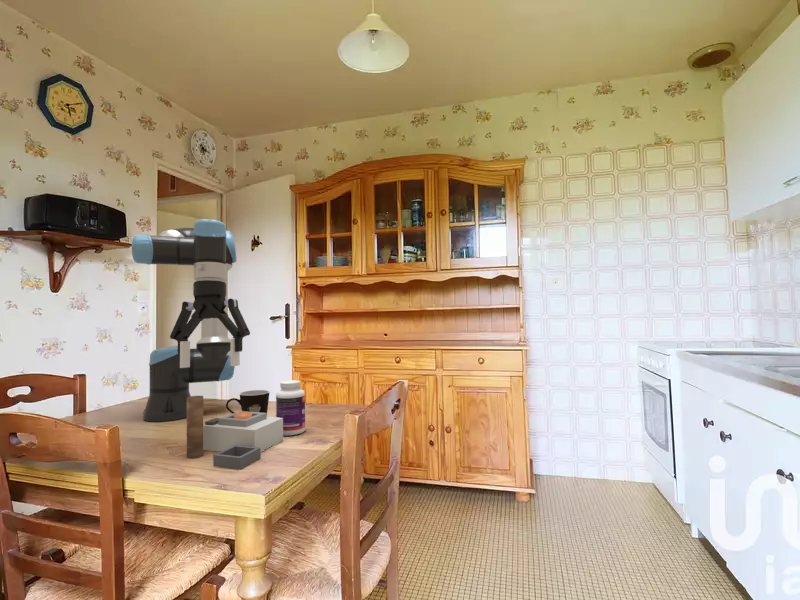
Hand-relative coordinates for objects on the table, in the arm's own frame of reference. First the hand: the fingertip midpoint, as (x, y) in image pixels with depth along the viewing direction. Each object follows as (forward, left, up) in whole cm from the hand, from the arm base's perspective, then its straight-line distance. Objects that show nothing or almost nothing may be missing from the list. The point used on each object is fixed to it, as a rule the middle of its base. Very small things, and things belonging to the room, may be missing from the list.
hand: (209, 366), depth 103 cm
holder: (+11, -3, -21) cm, 24 cm away
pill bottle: (+10, +21, -21) cm, 31 cm away
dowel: (-2, -2, -21) cm, 21 cm away
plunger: (+4, +8, -16) cm, 18 cm away
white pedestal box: (+4, +8, -21) cm, 23 cm away
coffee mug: (-6, +24, -21) cm, 32 cm away
